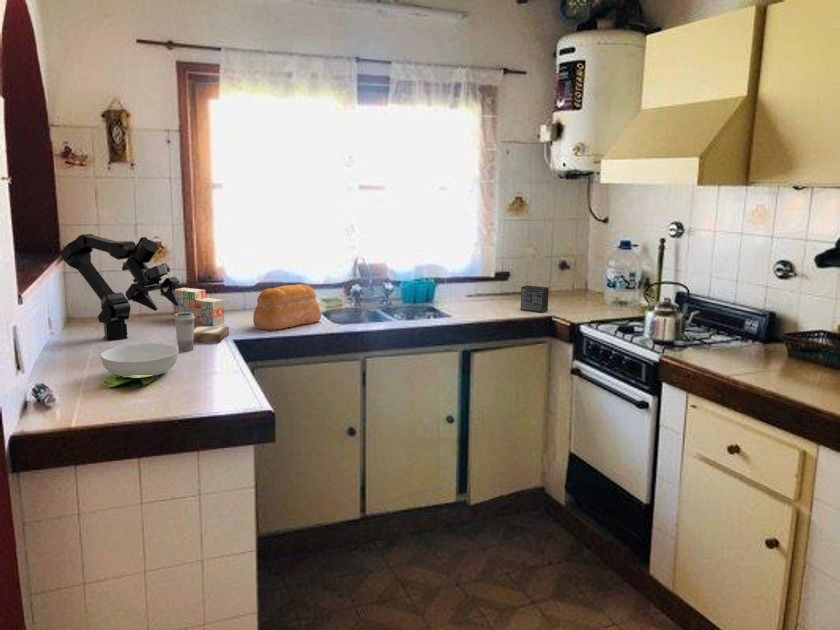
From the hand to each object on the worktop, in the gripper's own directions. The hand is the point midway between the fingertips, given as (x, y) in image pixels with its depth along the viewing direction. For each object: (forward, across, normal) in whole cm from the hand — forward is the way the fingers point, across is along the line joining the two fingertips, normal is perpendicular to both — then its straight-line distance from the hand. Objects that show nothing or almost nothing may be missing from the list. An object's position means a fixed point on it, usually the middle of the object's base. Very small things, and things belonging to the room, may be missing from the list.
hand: (167, 307), depth 231 cm
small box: (+71, +122, -52) cm, 151 cm away
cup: (+15, 0, +4) cm, 16 cm away
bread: (+18, +48, +1) cm, 51 cm away
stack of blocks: (-5, +36, +25) cm, 44 cm away
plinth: (+11, +15, +8) cm, 20 cm away
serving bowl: (+22, -27, -2) cm, 35 cm away
